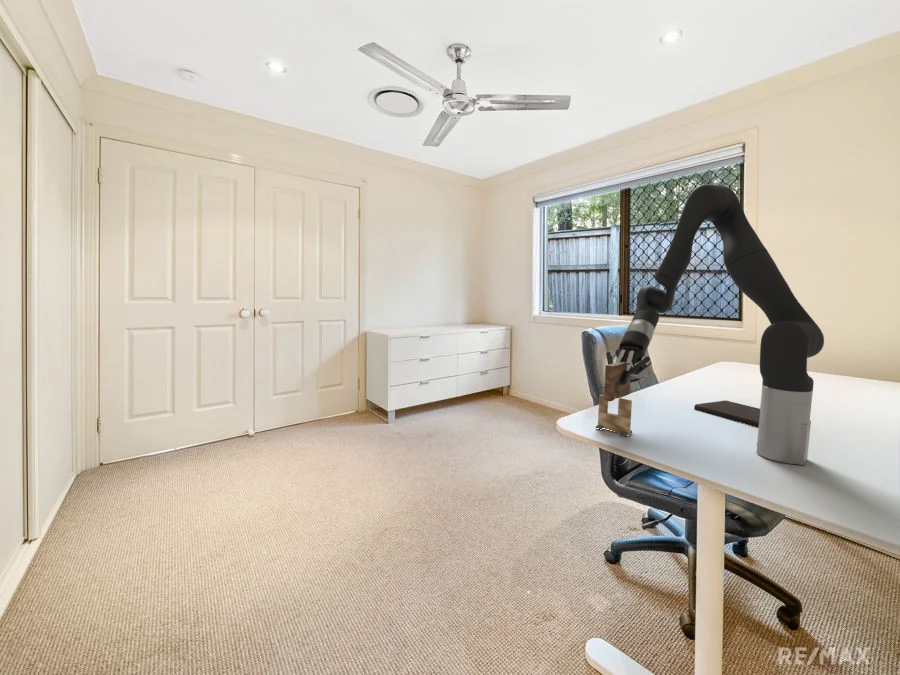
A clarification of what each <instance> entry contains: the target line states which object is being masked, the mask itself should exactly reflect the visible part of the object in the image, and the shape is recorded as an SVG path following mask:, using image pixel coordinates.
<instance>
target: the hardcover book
mask: <svg viewBox="0 0 900 675" xmlns="http://www.w3.org/2000/svg"><path fill="white" fill-rule="evenodd" d="M693 408H694V409H693V410H695V411H699V412H702V413H706V414H709V415H711V416H716V417H718V418H723V419H726V420H729V421H733V422H736V421H737V422H736V423H740V422H741V423H740V424H743V423H745V424H744V425H747V424H748V425H747V426H750V425H751V427H754V426H755V427H754V428H757V427H758V428H759V416H760V407H759V408H758V407H755V406H750V405H746V404H742V403H739V402H734V401H730V400H727V399H726V400H717V401H711V402H703V403H696V404H694V406H693ZM758 428H757V429H758Z"/></svg>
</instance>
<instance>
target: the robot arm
mask: <svg viewBox="0 0 900 675" xmlns="http://www.w3.org/2000/svg"><path fill="white" fill-rule="evenodd" d="M705 221H709V222H711V223H712V224H713V226H714V227H715V229H716V230H717V232H718V233H719V236H720V237H721V240H722V245H723V246H722V247H723V248H722V259H723V264H724V266H725V268H726V270H727V272H728V274H729V276H730V277H731V279H732V281H733V282H734V285H736V286H737V288H738V289H739V290H740V291H741V292H742V293H743V294H744V295H745V296H746V297H747V298H748V299H750V300H751V302H753V303H755V305H757V306H758V308H760V309H761V310H762V312H763V313H764V315H765V316H766V318H767V319H768V321H769V323H770V325H768V326H767V327H766V328H765V330H764V331H763V333H762V336H761V338H760V339H761V340H760V345H759V346H760V348H759V350H760V351H759V372H760V376H761V378H762V382H761V383H762V385H761V396H760V397H761V398H760V407H759V409H760V416H759V428H757V429H758V430H757V431H758V432H757V441H756V453H757V455H759V456H760V457H762V458H766V459H768V460H771V461H774V462H779V463H782V464H789V465H791V464H792V465H799V466H804V465H805V464H806V463H807V460H808V455H809V448H810V447H809V446H810V444H809V443H810V435H811V428H812V426H811V424H812V420H811V411H812V402H813V393H814V384H815V381H814V378H812V377H811V376H810V375H809V373H808V368H807V367H808V358H811V357H814V356H817V355H818V354H819V353H820V352H821V351H822V350H823V348H824V345H825V336H824V333H823V331H822V329H821V328H820V326H818V324H817V323H816V321H815V320H814V319H813V318H812V317H811V316H810V314H809V313H808V312H807V311H806V309H805V308H804V307H803V306H802V305H801V303H800V302H799V301H798V300H799V299H797V297H796V295H794V293H793V291H792V290H791V288H790V286H789V284H788V283H787V281H786V279H785V278H784V276H783V274H782V273H781V271H780V269H779V268H778V265H777V264H776V262H775V260H774V259H773V257H772V256H771V254H770V253H769V250H767V248H766V247H765V245H764V243H763V242H762V241H761V239H760V238H759V236H758V234H757V232H756V231H755V229H754V228H753V227H752V225H751V224H750V222H749V220H748V218H747V216H746V214H745V211H744V210H743V206H742V205H741V203H740V201H739V197H738V195H737V194H736V193H735V191H734V190H732V188H730V187H728V186H725V185H718V184H710V183H709V184H707V183H705V184H700V185H699V186H697V187H695V188H694V189H693V190H691V192H690V193H689V195H688V196H687V199H686V201H685V204H684V205H683V209H682V212H681V215H680V218H679V220H678V223H677V225H676V229H675V231H674V234H673V238H672V239H671V242H670V245H669V247H668V249H667V251H666V254H665V256H664V257H663V259H662V261H661V263H660V264H659V266H658V268H657V270H656V272H655V274H654V280H655V281H656V282H657V283H658V284H660V285H661V286H663V287H664V288H665V290H664V289H660V288H658V287H655V286H652V285H645V286H643V287H641V288H640V289H639V291H638V292H637V295H636V307H635V308H636V309H635V311H634V315H633V317H632V320H631V321H630V322H629V325H628V326H627V328H626V330H625V332H624V334H623V336H622V339H621V341H620V343H619V347H618V348H617V349H615V351H613V352H610V351H606V353H605V355H606V360H607V365H609V364H613V363H614V361H615V363H617V362H621V361H624V362H627V365H626V368H625V371H623V374H622V376H621V378H620V381H619V382H620V384H621V385H624V384H626V383H627V381H628V379H629V377H630V375H631V376H632V375H635V376H637V375H639V374H640V373H642V372H643V371H644V370H645V369H647V368H648V367H649V366H650V365H652V363H653V362H652V360H651V358H650V356H646V352H647V350H648V348H649V345H650V344H651V341H652V339H653V337H654V332H655V329H656V327H657V325H658V322H659V320H660V315H659V314H665V313H667V312H668V311H669V310H670V309H671V308H672V305H673V303H674V298H675V294H676V290H677V287H678V285H679V283H680V280H681V278H682V277H683V275H684V274H685V273H686V270H687V269H688V267H689V266H690V262H691V259H692V253H693V245H694V240H695V236H696V234H697V232H698V230H699V229H700V227H701V226H702V224H703V223H704V222H705ZM615 358H616V360H615Z"/></svg>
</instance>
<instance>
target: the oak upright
mask: <svg viewBox="0 0 900 675" xmlns="http://www.w3.org/2000/svg"><path fill="white" fill-rule="evenodd" d="M632 403H633V401H632V399H628V398H627V399H626V398H623V397H621V398H618V404H617V405H618V406H617V414H615V413H610V412H609V410H608V409H609V401H607V400H604V394H599V395H598V413H597V416H598V417H597V425H595V429H596V428H599V429H602V428H605V429H609V430H612V431H615V432H618V433H620V434H619V436H620V435H622V436H621V437H623V436H627V435H629V436H631V435H632V434H633V430H631V428H632V427H631V424H632V406H633V405H632ZM615 432H614V433H615ZM618 433H617V434H618ZM631 433H632V434H631ZM630 434H631V435H630ZM627 437H628V436H627Z"/></svg>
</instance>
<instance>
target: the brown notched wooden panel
mask: <svg viewBox="0 0 900 675" xmlns="http://www.w3.org/2000/svg"><path fill="white" fill-rule="evenodd" d="M626 365H627V362H624V361H621V362H617V363H616V362H613V364H609V365H608V364H605V370H604V372H605V374H604V389H603V390H604V392H603V395H604V400H607V401H608V402H613V401H615V398H617V399H620V398H623V397H625V396H628V395H630V393H631V390H630V389H631V376H632V375H630V377H629V379H628V381H627V383H626V384H624V385H621V384H620V382H619V381H620V378H621V376H622V374H623V371H625V368H626Z"/></svg>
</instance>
